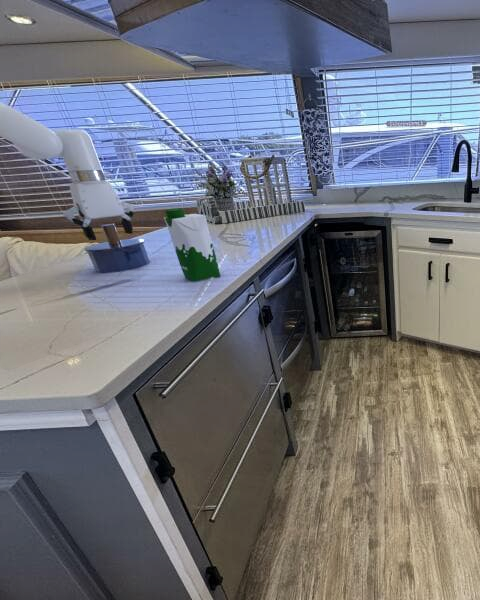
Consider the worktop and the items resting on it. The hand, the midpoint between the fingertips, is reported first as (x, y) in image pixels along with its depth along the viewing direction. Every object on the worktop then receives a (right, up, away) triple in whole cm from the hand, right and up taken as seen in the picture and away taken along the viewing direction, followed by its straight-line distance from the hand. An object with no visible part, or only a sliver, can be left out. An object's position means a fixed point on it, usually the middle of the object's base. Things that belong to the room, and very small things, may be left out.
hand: (111, 236), depth 100 cm
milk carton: (+31, -13, -5) cm, 34 cm away
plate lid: (0, -3, +1) cm, 3 cm away
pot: (0, -11, +5) cm, 12 cm away
